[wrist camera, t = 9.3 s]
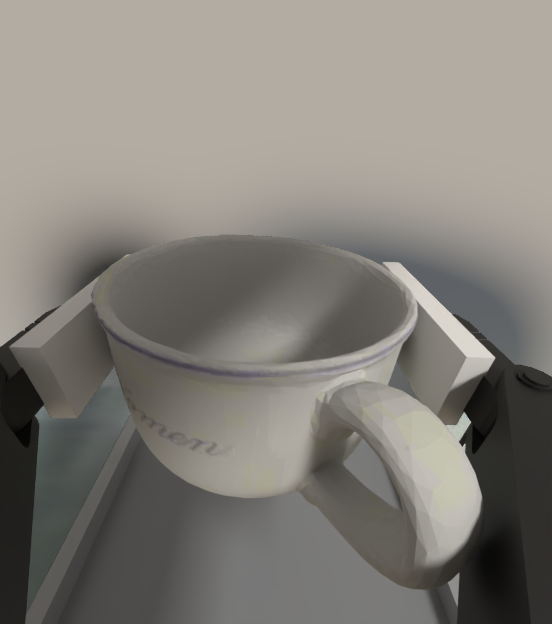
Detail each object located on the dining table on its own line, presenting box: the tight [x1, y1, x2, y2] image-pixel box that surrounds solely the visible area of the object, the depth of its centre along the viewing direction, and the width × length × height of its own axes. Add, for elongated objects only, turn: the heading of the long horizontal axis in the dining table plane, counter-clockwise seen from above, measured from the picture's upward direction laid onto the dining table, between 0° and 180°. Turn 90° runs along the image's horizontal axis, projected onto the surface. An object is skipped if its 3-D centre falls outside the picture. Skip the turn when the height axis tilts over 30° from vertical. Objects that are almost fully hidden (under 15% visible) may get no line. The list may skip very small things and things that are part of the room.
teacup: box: [91, 235, 484, 590], centre depth 11 cm, size 14×11×8 cm
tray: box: [25, 415, 459, 624], centre depth 19 cm, size 24×18×2 cm
